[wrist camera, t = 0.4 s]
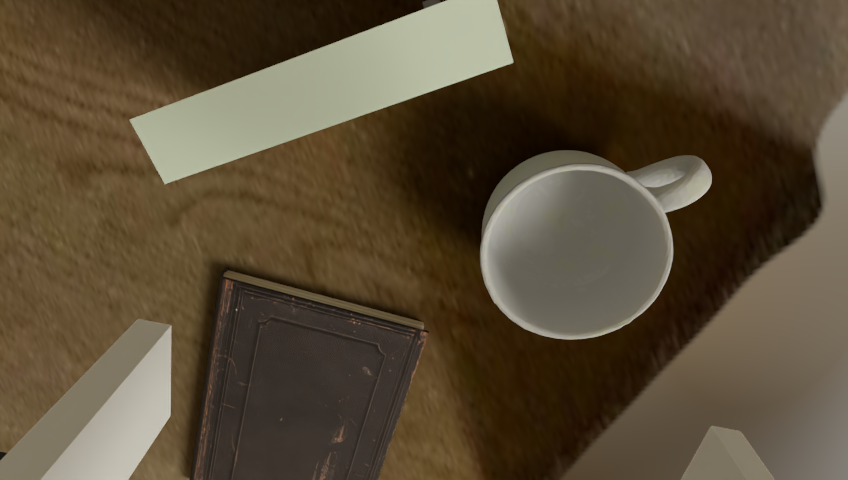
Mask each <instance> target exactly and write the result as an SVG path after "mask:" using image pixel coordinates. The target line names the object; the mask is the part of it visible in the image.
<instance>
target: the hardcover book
mask: <svg viewBox="0 0 848 480" xmlns="http://www.w3.org/2000/svg"><path fill="white" fill-rule="evenodd" d="M423 323H424V322H420V321H417V320H413V319H409V318H405V317H402V316H398V315H394V314H390V313H387V312H383V311H379V310H375V309H372V308H368V307H364V306H360V305H357V304H353V303H349V302H345V301H342V300H338V299H334V298H330V297H327V296H323V295H319V294H315V293H312V292H308V291H304V290H300V289H297V288H293V287H289V286H285V285H282V284H278V283H274V282H270V281H267V280H263V279H259V278H255V277H252V276H248V275H244V274H241V273H237V272H233V271H229V268H228V267H227V268H226V269H224V270H223V271H222V273H221V274H220V279H219V285H218V292H217V299H216V306H215V313H214V319H213V326H212V333H211V340H210V347H209V354H208V360H207V367H206V374H205V381H204V388H203V394H202V401H201V408H200V415H199V422H198V428H197V435H196V442H195V449H194V456H193V463H192V469H191V476H190V480H378V478H379V475H380V472H381V469H382V467H383V464H384V461H385V458H386V455H387V452H388V449H389V446H390V443H391V440H392V438H393V435H394V432H395V429H396V426H397V423H398V420H399V417H400V414H401V411H402V409H403V406H404V403H405V400H406V397H407V394H408V391H409V388H410V385H411V382H412V380H413V377H414V374H415V371H416V368H417V365H418V362H419V359H420V356H421V354H422V351H423V348H424V345H425V342H426V339H427V336H428V333H429V331H426V330H423V328H424V325H423Z"/></svg>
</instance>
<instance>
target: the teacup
mask: <svg viewBox="0 0 848 480" xmlns="http://www.w3.org/2000/svg"><path fill="white" fill-rule="evenodd" d="M711 182H712V176H711V172H710V170H709V168H708V166H707V165H706V163H705V162H704V161H703V160H702V159H700V158H698V157H696V156H690V155H684V156H677V157H673V158H669V159H666V160H663V161H660V162H657V163H654V164H652V165H649V166H646V167H644V168H641V169H639V170H635V171H629V172H626V173H625V172H624V171H623V170H621V169H620V168H619V167H617V166H616V165H614V164H613V163H611V162H609V161H607V160H606V159H603V158H601V157H599V156H596V155H593V154H590V153H587V152H582V151H573V150H561V151H552V152H547V153H543V154H540V155H537V156H534V157H532V158H530V159H528V160H526V161H524V162H522V163H521V164H519V165H518V166H516V167H515V168H514V169H512V170H511V171H510V172H509V173H508V174H507V175H506V176H505V177H504V178H503V179H502V180H501V181H500V182H499V184H498V185H497V186H496V188H495V190H494V191H493V193H492V195H491V197H490V199H489V201H488V203H487V206H486V209H485V213H484V217H483V224H482V240H481V245H480V266H481V271H482V276H483V280H484V282H485V285H486V287H487V290H488V292H489V294H490V296H491V298H492V300H493V301H494V303H495V304H496V305H497V306H498V307H499V309H500V310H501V311H502V312H503V313H504V314H505V315H506V316H507V317H508V318H510V319H511V320H512V321H514V322H515V323H516V324H518V325H519V326H521V327H523V328H524V329H527V330H529V331H531V332H534V333H536V334H539V335H543V336H546V337H552V338H557V339H585V338H591V337H597V336H600V335H604V334H606V333H609V332H612V331H615V330H617V329H619V328H621V327H623V326H624V325H626V324H628V323H630V322H631V321H632V320H633V319H634V318H636V317H637V316H638V315H640V314H641V313H643V312H644V311H645V310H646V309H647V308H648V307H649V306H650V305H651V304H652V303H653V302H654V300H655V299H656V298H657V297H658V295H659V293H660V291H661V290H662V288H663V286H664V284H665V282H666V280H667V278H668V275H669V272H670V269H671V264H672V260H673V240H672V234H671V230H670V226H669V223H668V220H667V217H666V215H665V212H668V211H672V210H676V209H679V208H682V207H684V206H687V205H689V204H691V203H692V202H694V201H696V200H697V199H699V198H700V197H702V196H703V195H704V194H705V193H706V192H707V190H708V189H709V188H710V185H711ZM669 183H670V184H669ZM666 184H668V185H666ZM663 185H664V186H663ZM660 186H661V187H660Z"/></svg>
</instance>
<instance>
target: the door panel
mask: <svg viewBox="0 0 848 480" xmlns="http://www.w3.org/2000/svg"><path fill="white" fill-rule="evenodd" d="M422 4H423V7H424V9H423V10H420V11H417V12H415V13H412V14H409V15H407V16H404V17H401V18H399V19H396V20H393V21H391V22H388V23H385V24H383V25H380V26H377V27H375V28H372V29H369V30H367V31H364V32H361V33H359V34H356V35H353V36H351V37H348V38H345V39H343V40H340V41H337V42H335V43H332V44H329V45H327V46H324V47H321V48H319V49H316V50H314V51H311V52H308V53H306V54H303V55H300V56H298V57H295V58H292V59H290V60H287V61H284V62H282V63H279V64H276V65H274V66H271V67H268V68H266V69H263V70H260V71H258V72H255V73H252V74H250V75H247V76H244V77H242V78H239V79H236V80H234V81H231V82H228V83H226V84H223V85H220V86H218V87H215V88H213V89H210V90H207V91H205V92H202V93H199V94H197V95H194V96H191V97H189V98H186V99H183V100H181V101H178V102H175V103H173V104H170V105H167V106H165V107H162V108H159V109H157V110H154V111H151V112H149V113H146V114H143V115H141V116H138V117H135V118H133V119H130V122H131V123H132V125H133V127H134V129H135V131H136V133H137V134H138V136H139V138H140V140H141V142H142V143H143V145H144V147H145V149H146V151H147V153H148V154H149V156H150V158H151V160H152V162H153V163H154V165H155V167H156V169H157V171H158V172H159V174H160V176H161V178H162V180H163V182H164V183H165V184H166V183H169V182H172V181H175V180H178V179H181V178H184V177H187V176H189V175H192V174H195V173H198V172H201V171H204V170H207V169H209V168H212V167H215V166H218V165H221V164H224V163H227V162H230V161H232V160H235V159H238V158H241V157H244V156H247V155H250V154H253V153H255V152H258V151H261V150H264V149H267V148H270V147H273V146H276V145H278V144H281V143H284V142H287V141H290V140H293V139H296V138H299V137H301V136H304V135H307V134H310V133H313V132H316V131H319V130H322V129H324V128H327V127H330V126H333V125H336V124H339V123H342V122H344V121H347V120H350V119H353V118H356V117H359V116H362V115H365V114H367V113H370V112H373V111H376V110H379V109H382V108H385V107H388V106H390V105H393V104H396V103H399V102H402V101H405V100H408V99H411V98H413V97H416V96H419V95H422V94H425V93H428V92H431V91H434V90H436V89H439V88H442V87H445V86H448V85H451V84H454V83H457V82H459V81H462V80H465V79H468V78H471V77H474V76H477V75H479V74H482V73H485V72H488V71H491V70H494V69H497V68H500V67H502V66H505V65H508V64H511V63H513V59H512V55H511V51H510V48H509V44H508V40H507V36H506V32H505V29H504V25H503V21H502V17H501V14H500V10H499V6H498V2H497V0H446V1H444V2H440V0H427V1H424V2H422Z"/></svg>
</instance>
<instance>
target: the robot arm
mask: <svg viewBox="0 0 848 480" xmlns="http://www.w3.org/2000/svg"><path fill="white" fill-rule="evenodd" d="M170 416H171V325H168V324H163V323H157V322H152V321H146V320H141V319H137V320H136V321H135V322H134V323H133V324H132V326H131V327H130V328H129V329H128V330H127V331H126V332H125V333H124V334H123V335H122V336H121V337H120V338H119V339H118V340H117V341H116V342H115V343H114V344H113V345H112V346H111V347H110V348H109V349H108V350H107V351H106V352H105V353H104V354H103V355H102V356H101V357H100V358H99V359H98V360H97V362H96V363H95V364H94V365H93V366H92V367H91V368H90V369H89V370H88V371H87V372H86V373H85V374H84V375H83V376H82V377H81V378H80V379H79V380H78V381H77V382H76V383H75V384H74V385H73V386H72V387H71V388H70V389H69V390H68V391H67V392H66V393H65V394H64V395H63V396H62V398H61V399H60V400H59V401H58V402H57V403H56V404H55V405H54V406H53V407H52V408H51V409H50V410H49V411H48V412H47V413H46V414H45V415H44V416H43V417H42V418H41V419H40V420H39V421H38V422H37V423H36V424H35V425H34V426H33V427H32V428H31V429H30V430H29V431H28V432H27V434H26V435H25V436H24V437H23V438H22V439H21V440H20V441H19V442H18V443H17V444H16V445H15V446H14V447H13V448H12V449H11V450H10V451H9V452H8V453H4V452H0V480H128V479H129V478H130V476H131V475H132V473H133V472H134V470H135V469H136V467H137V466H138V464H139V463H140V461H141V459H142V458H143V456H144V455H145V453H146V452H147V450H148V449H149V447H150V446H151V444H152V443H153V441H154V440H155V438H156V437H157V435H158V434H159V432H160V431H161V429H162V428H163V426H164V425H165V423H166V422H167V420H168V419H169V417H170ZM681 480H775V479H774V478H773V476H772V475H771V474H770V472H769V471H768V469H767V468H766V466H765V465H764V464H763V462H762V461H761V459H760V458H759V457H758V455H757V454H756V452H755V451H754V449H753V448H752V447H751V445H750V444H749V442H748V441H747V440H746V439H745V437H744V435H743V434H742V432H741V431H737V430H732V429H726V428H721V427H716V426H711V427H710V428H709V430H708V432H707V434H706V435H705V437H704V439H703V441H702V443H701V444H700V446H699V448H698V450H697V452H696V453H695V455H694V457H693V459H692V461H691V462H690V464H689V466H688V468H687V469H686V471H685V473H684V475H683V476H682V478H681Z"/></svg>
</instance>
